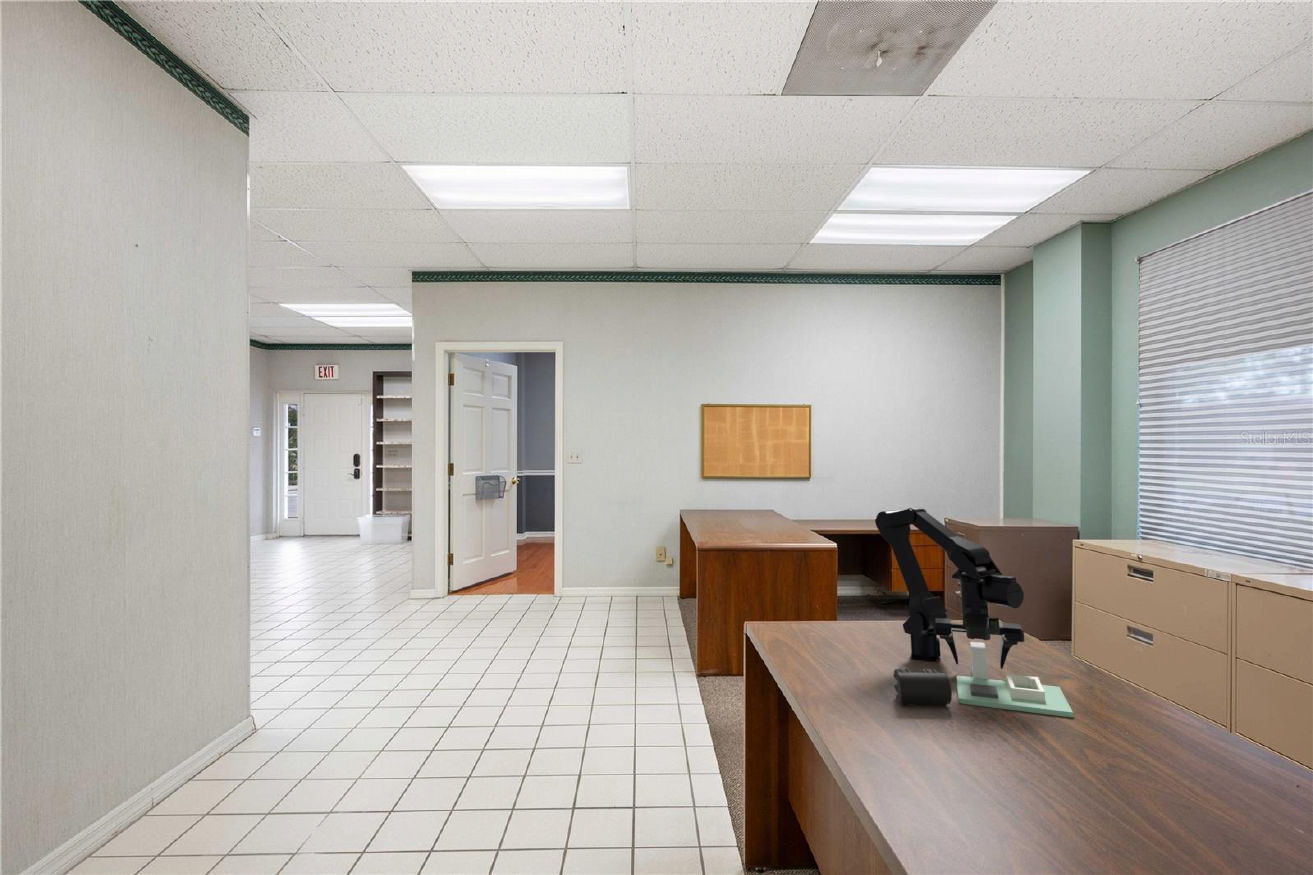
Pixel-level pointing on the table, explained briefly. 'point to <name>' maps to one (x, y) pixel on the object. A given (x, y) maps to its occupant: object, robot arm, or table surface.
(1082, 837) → the table surface
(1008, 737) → the table surface
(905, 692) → the end cap
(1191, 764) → the table surface
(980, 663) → the plug
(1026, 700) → the board
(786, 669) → the table surface
